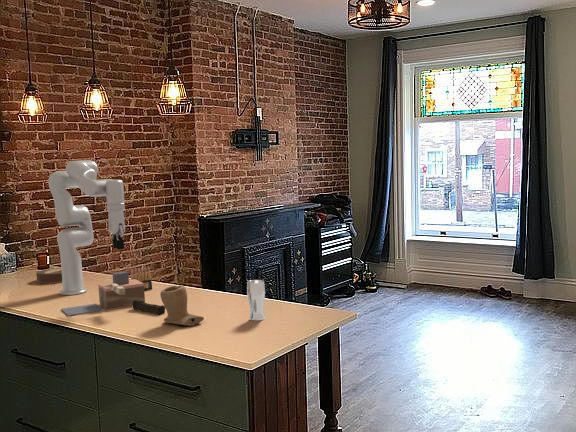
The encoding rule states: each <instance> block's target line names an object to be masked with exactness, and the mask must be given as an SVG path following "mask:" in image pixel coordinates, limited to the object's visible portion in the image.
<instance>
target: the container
mask: <svg viewBox="0 0 576 432" xmlns="http://www.w3.org/2000/svg"><path fill="white" fill-rule="evenodd" d="M35 273H36V283H37V284H39V283H41V285H56V284H63V283H62V269H61V267H53V268H46V269H41V270H38V271H37V272H35Z"/></svg>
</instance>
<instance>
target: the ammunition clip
mask: <svg viewBox="0 0 576 432" xmlns="http://www.w3.org/2000/svg"><path fill="white" fill-rule="evenodd" d="M151 276H152V275H151V269H150V265H148V266H144V267H143V266H141V268H140V267H137V268H136V267H134V269H133V268H130V280H133V279H136V280H138V281H140V282H142V283H144V292H146V291H151V290H153V283H152V277H151Z"/></svg>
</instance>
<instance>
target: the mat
mask: <svg viewBox="0 0 576 432" xmlns="http://www.w3.org/2000/svg"><path fill="white" fill-rule="evenodd" d="M60 310H61V311H62V312H63V313H64V314H65V315H66V316H68V317H73V316H80V315H85V314H93V313H99V312H103V311H105V308H104V307H102V306H101V305H100V304H97V303H90V304H84V305H78V306H72V307H64V308H60Z"/></svg>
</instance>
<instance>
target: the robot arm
mask: <svg viewBox="0 0 576 432" xmlns="http://www.w3.org/2000/svg"><path fill="white" fill-rule="evenodd" d="M98 172H99V167H98V165H97V163H96V162H95V161H93V160H90V159H88V160H87V159H85V160H84V159H83V160H72V161H70V162H68V163H67V165H66V166H65V170H59V171H54V172H52V173H51V174H50V175H49V178H48V188H49V191H50V194H51V196H52V198H53V203H54V210H55V216H56V221H57V223H58V225H59V226H61V227H73V226H78V227H73V228H65V229H62V230H61V231H59V232H58V233H57V235H56V241H57V245H58V249H59V256H60V266H61V267H60V268H61V269H62V283H61V284H62V289H61V290H60V291H59V294H60V295H62V296H72V295H73V296H75V295H80V294H84V293H86V292H87V290H88V288H87V287H84V278H83V266H82V255H81V253H80V252H79V251H78V249H77V248H81V247H87V246H90V245H92V244H93V242H94V238H95V237H94V235H95V234H94V230H93V224H92V217H91V213H90V211H89V209H88V208H87V206H84V205H74V201H73V196H72V195H71V193H70V192H69V191H68V190H67V189H74V188H76V189H77V188H80V191H81V192H82V193H83V194H85V195H86V196H88V197H92V198H96V197H97V198H98V197H106V208H107V210H106V211H107V212H108V215H107V216H108V218H107V219H108V225H107V226H108V232H109V233H110V234H112V237H111V238H112V246H113V247H112V248H113V249H117V250H118V251H119V250H124V249H125V240H124V239H125V238H124V237H125V236H124V235H125V232H126V222H125V214H124V211H126V207H125V206H126V205H125V204H126V203H125V192H124V191H125V190H124V188H125V187H124V182H123V180H122V179H112V178H107V179H105V178H103V179H97V177H98Z"/></svg>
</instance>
